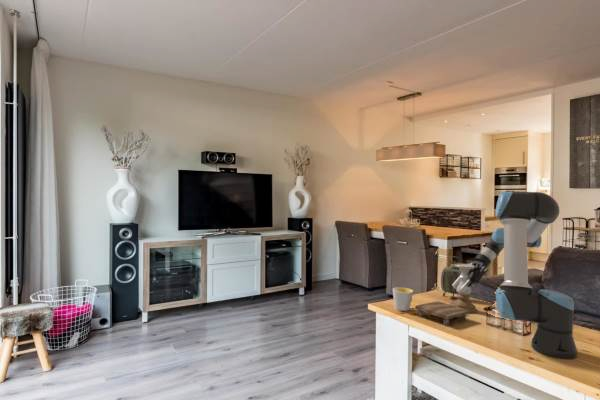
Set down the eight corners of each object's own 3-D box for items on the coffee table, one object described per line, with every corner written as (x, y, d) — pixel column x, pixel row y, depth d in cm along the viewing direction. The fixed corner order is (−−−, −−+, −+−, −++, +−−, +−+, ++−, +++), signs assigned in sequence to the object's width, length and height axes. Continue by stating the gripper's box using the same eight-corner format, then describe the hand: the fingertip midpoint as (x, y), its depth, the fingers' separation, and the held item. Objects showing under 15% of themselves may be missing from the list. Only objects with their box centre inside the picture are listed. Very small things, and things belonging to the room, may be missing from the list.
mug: (402, 313, 190) (403, 293, 190) (387, 308, 199) (388, 288, 198) (420, 310, 197) (421, 290, 197) (405, 304, 206) (406, 285, 206)
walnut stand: (469, 320, 183) (469, 310, 183) (447, 327, 173) (447, 316, 173) (437, 310, 198) (437, 301, 198) (415, 315, 187) (415, 305, 187)
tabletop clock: (466, 298, 224) (468, 256, 224) (466, 302, 216) (468, 258, 216) (440, 294, 230) (442, 254, 230) (439, 298, 222) (441, 256, 221)
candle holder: (477, 313, 195) (479, 267, 195) (456, 312, 195) (458, 266, 195) (468, 306, 206) (470, 263, 206) (448, 306, 206) (450, 262, 206)
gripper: (502, 266, 195) (474, 298, 191) (476, 259, 214) (450, 288, 210) (494, 255, 193) (466, 288, 190) (468, 250, 212) (442, 279, 208)
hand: (458, 288), depth 200 cm, fingers closed on candle holder, 6 cm apart
